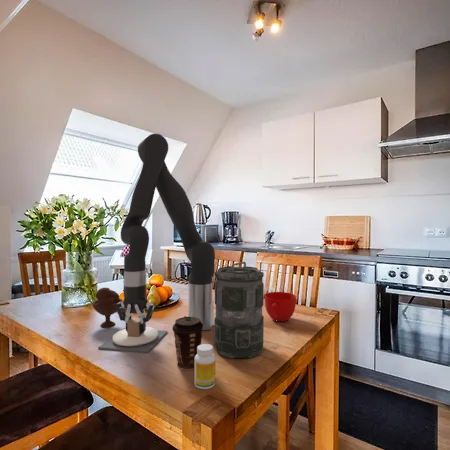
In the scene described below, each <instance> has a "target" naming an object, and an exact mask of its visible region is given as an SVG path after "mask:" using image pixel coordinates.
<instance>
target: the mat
mask: <svg viewBox="0 0 450 450" xmlns="http://www.w3.org/2000/svg"><path fill="white" fill-rule="evenodd" d="M123 329H126V327H124V328H122V329H121V330H123ZM156 330H157V331H158V337H157V338H156V339H155V340H153V341H152V342H149V343H147V344H143V345H138V346H121V345H117V344H115V343H114V342H113V336H111V337H110V338H108V339H107V340H105V342H103V343H102V344H101V345H99V346H98V347H97V349H98V350H107V351H118V352H129V353H130V352H131V353H142V354H149V353H150V352H151V351H152V350H153V349H154V347H155V346H156V345H157V344H158V343H159V342H161V340H162V339H163V338H164V337H165V336H166V335H167V334H168V330H159V329H156Z"/></svg>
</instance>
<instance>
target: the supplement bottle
mask: <svg viewBox="0 0 450 450" xmlns="http://www.w3.org/2000/svg"><path fill="white" fill-rule="evenodd" d="M213 352H214V347H213V345H212V344H209V343H201V345H199V346H198V347H197V353H198V354H196V356H195V358H194V369H193V371H194V374H193V375H194V379H193V383H194V386H195V388H197V389H200V390H209V389H211V388H213V387H214V386H215V384H216V356H215V354H214V353H213Z"/></svg>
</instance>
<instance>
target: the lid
mask: <svg viewBox="0 0 450 450" xmlns="http://www.w3.org/2000/svg"><path fill="white" fill-rule="evenodd" d="M127 328H128V333H127V331H126V329H124V328H122V329H123V330H122V329H121V330H118V331H117V332H115V333H114V334H113V335H112V337H113V342H114V343H115V344H117V345H121V346H138V345H143V344H147V343H149V342H152V341H153V340H155V339H156V338H157V337H158V331H157V330H158V329H156V328H154V327H150V326H146V330H145V332H144V333H143V334H140V320H139V317H132V318H131V320H129V321H128V322H127Z"/></svg>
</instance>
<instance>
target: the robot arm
mask: <svg viewBox="0 0 450 450" xmlns="http://www.w3.org/2000/svg"><path fill="white" fill-rule="evenodd" d="M168 152H169V143H168V140H167V138H166V137H165V136H163V135H162V134H160V133H151V134H149V135H147V136H145V137H144V138H143V139H142V140H140V142H139V144H138V146H137V154H138V157H139V158H140V160H141V162H142V168H141V170H140V173H139V177H138V179H137V182H136V185H135V187H134V189H133V193H132V195H131V201H130V204H129V205H130V206H129V210H128V213H127V215H126V216H125V219H124V221H123V224H122V226H121V229H120V239H121V242H122V243H123V244H124V245H128V246H129V247H128V248H129V250H128V253H126V254H125V255H124V257H123V258H124V260H123V269H124V270H123V272H124V273H123V301H122V302H119V303H117V304H116V309H117V312H116V313H117V314H118V317H119V320H120V321H124V322H125V328H126V331H127V333H128V328H127V322H128V321H129V320H131V319H132V318H133V315H134V314H136V315H137V318H139V320H140V334H143V333H144V332H145V330H146V327H147V324H146V323H148V322H149V321H151V319H152V317H153V315H154V314H153V313H154V311H155V307H156V303H154V302H153V303H150V302H148V301H149V300H148V299H147V291H148V290H147V271H146V269H147V268H146V267H147V266H146V257H147V256H146V255H147V252H148V248H149V245H150V244H149V242H150V235H149V234H150V233H149V231H148V229H147V228H146V227H145V226H144V224H143V223H144V221H146V220H147V219H149V217H150V215H151V211H152V205H153V201H154V196H155V192H156V190H157V192H158V195H159V197H160V199H161V202H162V204H163V206H164V208H165V210H166V212H167V214H168V216H169V218H170V220H171V223H172V225H173V226H174V228H175V229H176V231H177V233H178V235H179V239H180V240H181V243H182V246H183V250H184V252H185V255H186V257H187V259H188V260H189V261H190V262H191V272H190V274H189V275H188V317H189V316H190V317H197V318H199V319H200V320H201V323H202V324H203V328H202V331H208V330H209V331H210V330H212V328H213V327H214V319H215V314H214V311H215V308H214V306H215V300H213V278H214V276H215V267H216V266H215V265H216V256H215V255H216V252H215V248H214V246H213V245H212V244H211V243H210V242H207V241H204V240H203V239H202V236H201V235H200V234H199V231H198V230H197V226H196V222H195V218H194V212H193V207H192V203H191V202H190V199H189V197H188V195H187V193H186V190H185V189H184V188H183V187H182V185H181V184H180V183H179V182H178V181H177V179H176V177H175V178H174V176H173V175H172V174H171V171H170V170H169V168H168V166H167V163H166V161H165V160H166V157H167V156H168ZM145 308H146V310H147V313H146V311H145ZM125 310H126V311H125Z"/></svg>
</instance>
